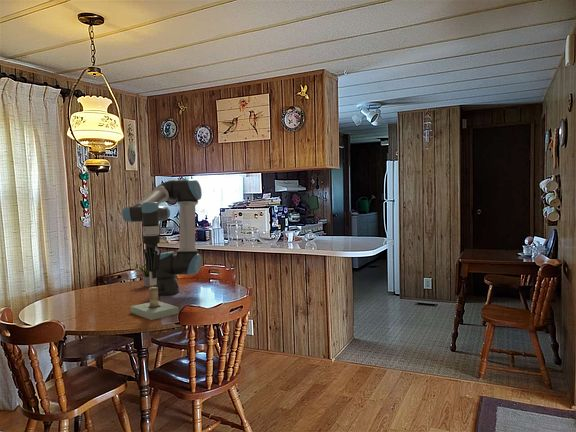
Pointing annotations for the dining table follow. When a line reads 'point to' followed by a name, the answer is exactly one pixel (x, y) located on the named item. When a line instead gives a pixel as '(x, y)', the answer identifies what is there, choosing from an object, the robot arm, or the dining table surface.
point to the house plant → (146, 277)
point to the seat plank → (154, 310)
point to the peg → (153, 297)
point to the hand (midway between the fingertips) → (153, 284)
